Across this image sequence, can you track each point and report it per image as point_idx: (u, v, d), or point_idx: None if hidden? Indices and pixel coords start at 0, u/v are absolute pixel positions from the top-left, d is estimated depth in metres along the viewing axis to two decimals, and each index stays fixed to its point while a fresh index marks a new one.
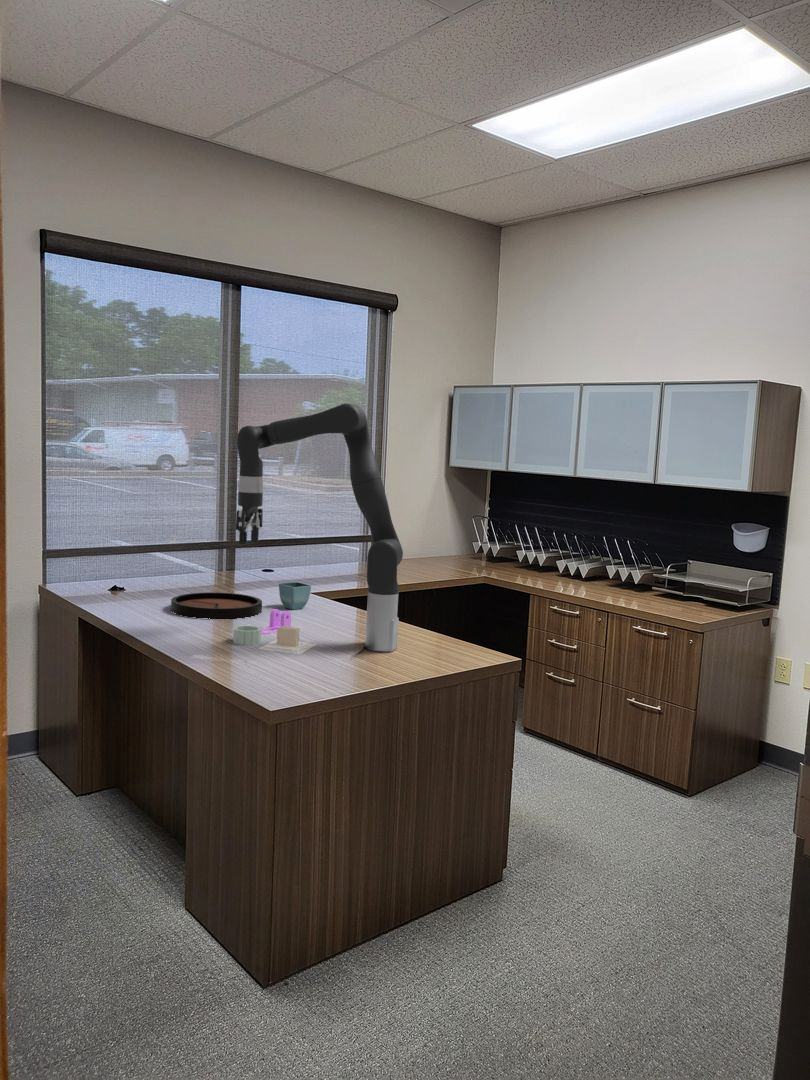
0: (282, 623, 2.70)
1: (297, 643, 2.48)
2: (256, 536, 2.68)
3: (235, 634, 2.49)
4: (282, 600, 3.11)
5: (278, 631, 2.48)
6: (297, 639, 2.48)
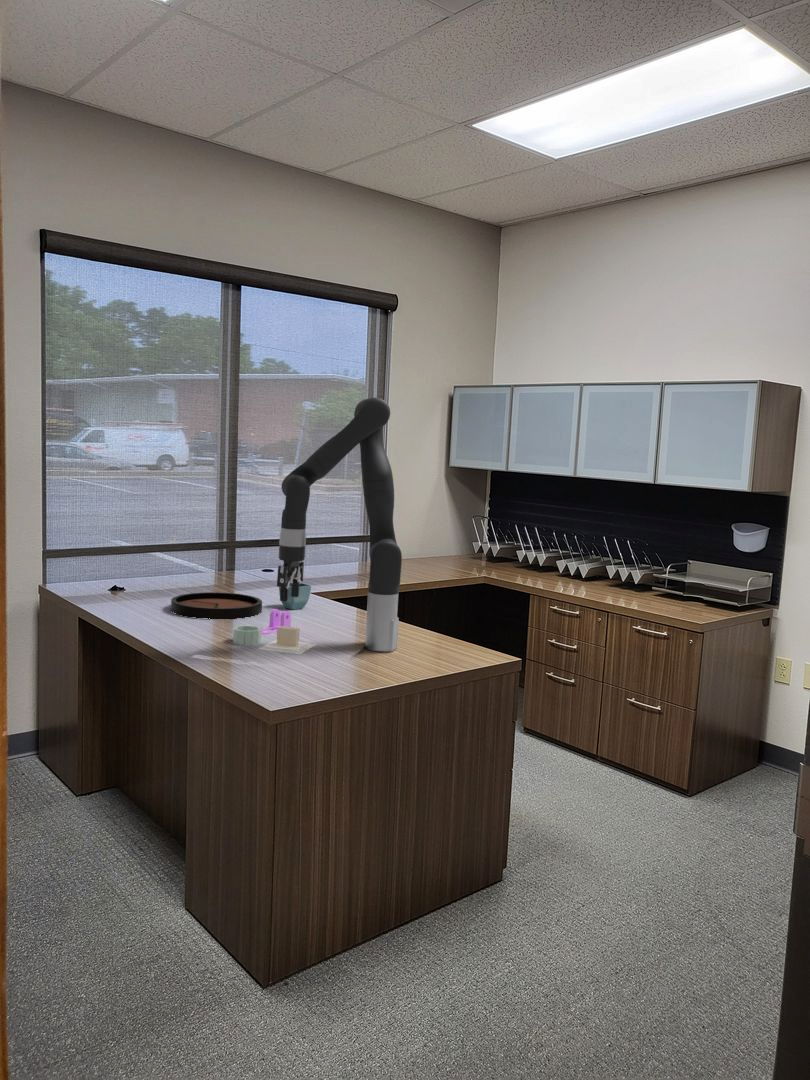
0: (282, 623, 2.71)
1: (297, 643, 2.48)
2: (297, 591, 2.51)
3: (235, 634, 2.49)
4: None
5: (278, 631, 2.48)
6: (297, 639, 2.48)
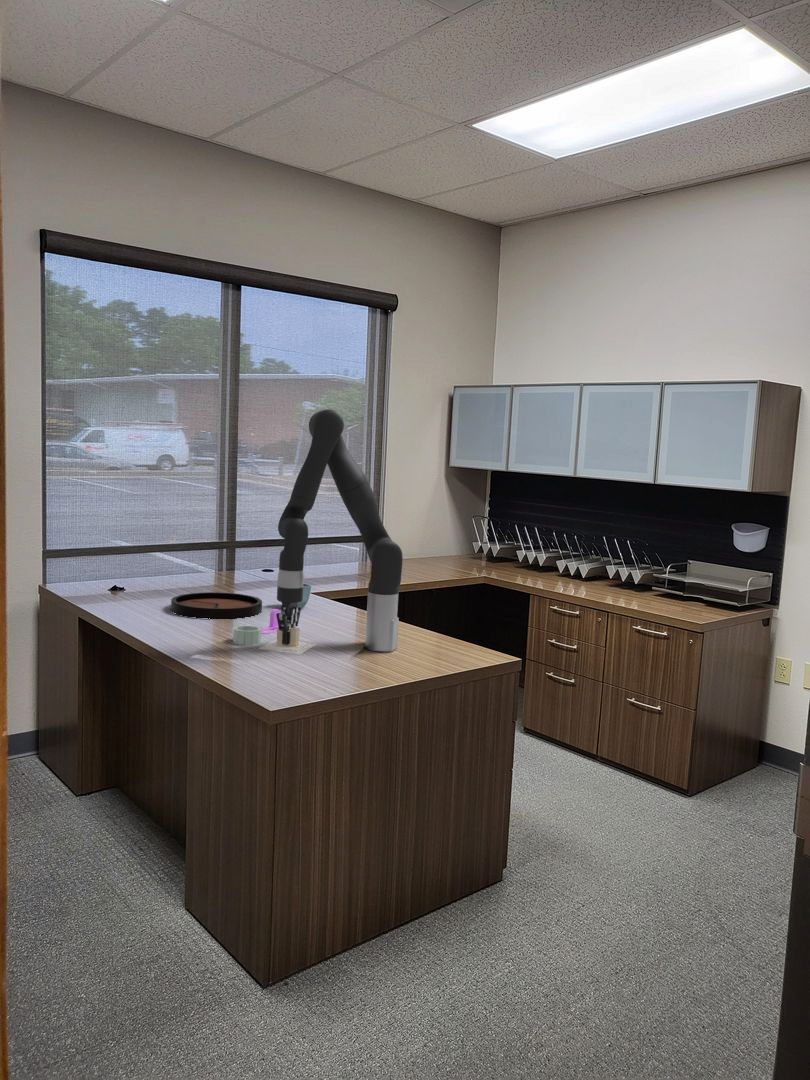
0: None
1: (297, 643, 2.48)
2: None
3: (235, 634, 2.49)
4: None
5: (278, 631, 2.48)
6: (297, 639, 2.48)
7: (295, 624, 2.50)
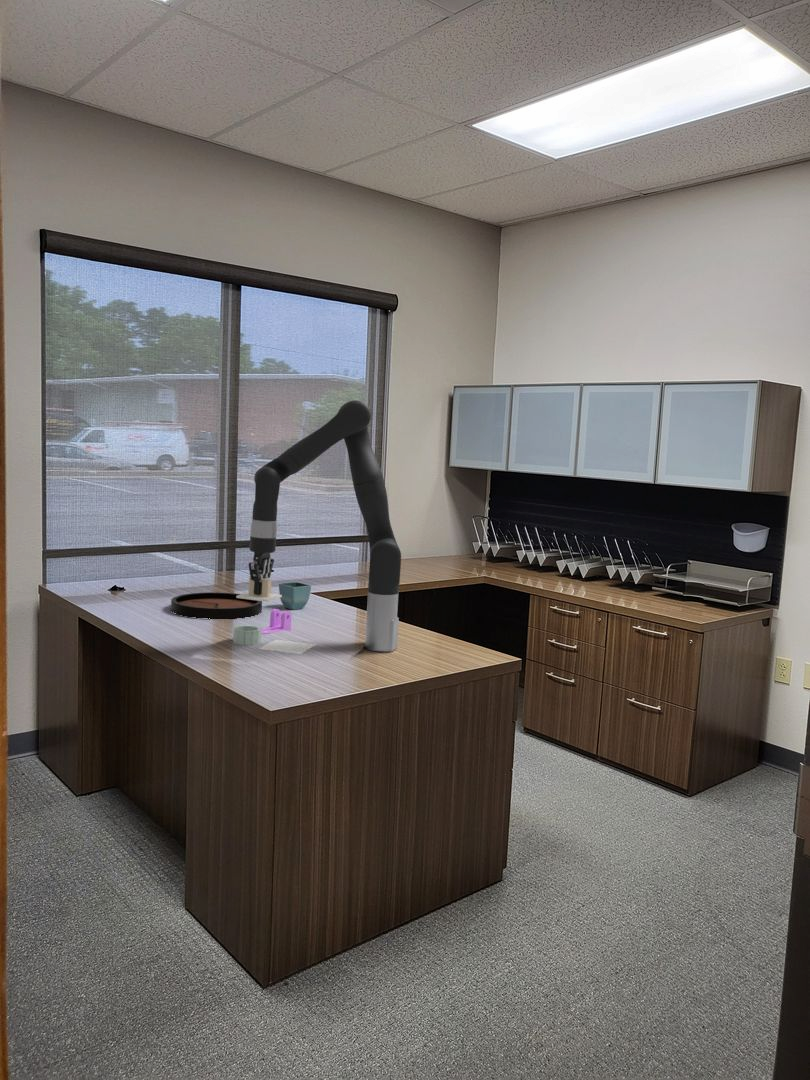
0: (282, 623, 2.71)
1: (269, 594, 2.48)
2: None
3: (235, 634, 2.49)
4: (282, 600, 3.11)
5: (250, 581, 2.48)
6: (269, 590, 2.48)
7: (267, 575, 2.51)
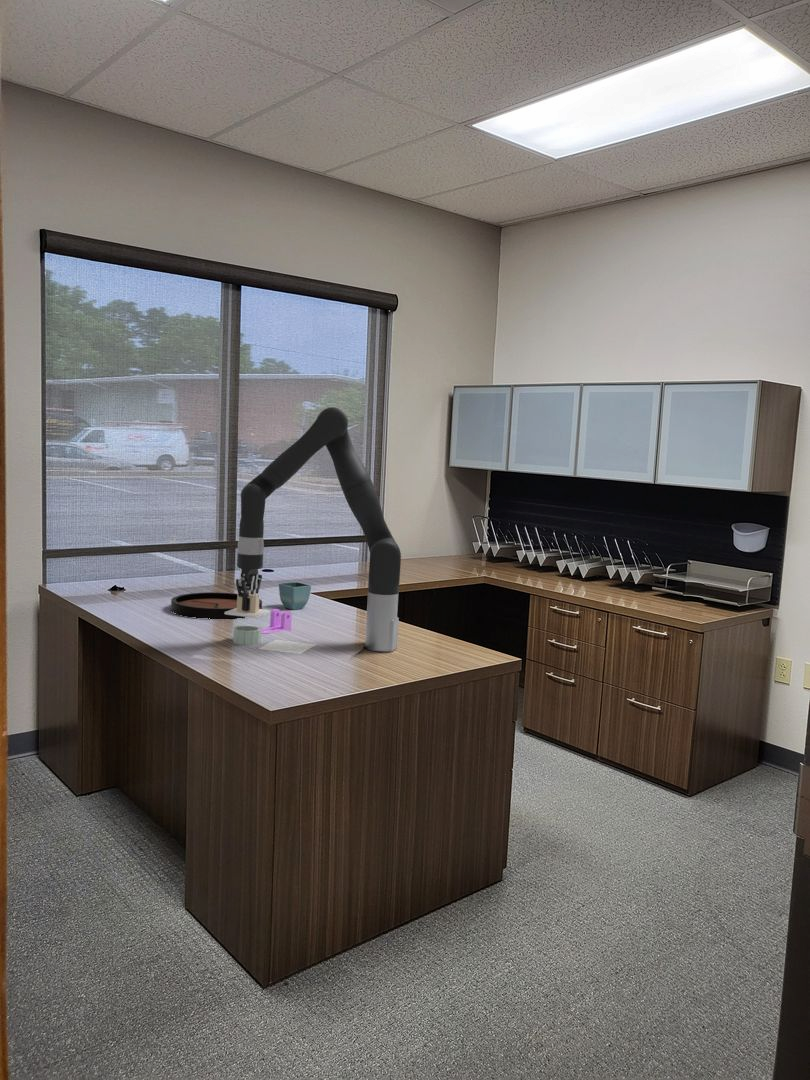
0: (283, 623, 2.71)
1: (257, 610, 2.50)
2: None
3: (235, 634, 2.49)
4: (282, 600, 3.11)
5: (238, 597, 2.50)
6: (257, 606, 2.50)
7: (255, 591, 2.52)
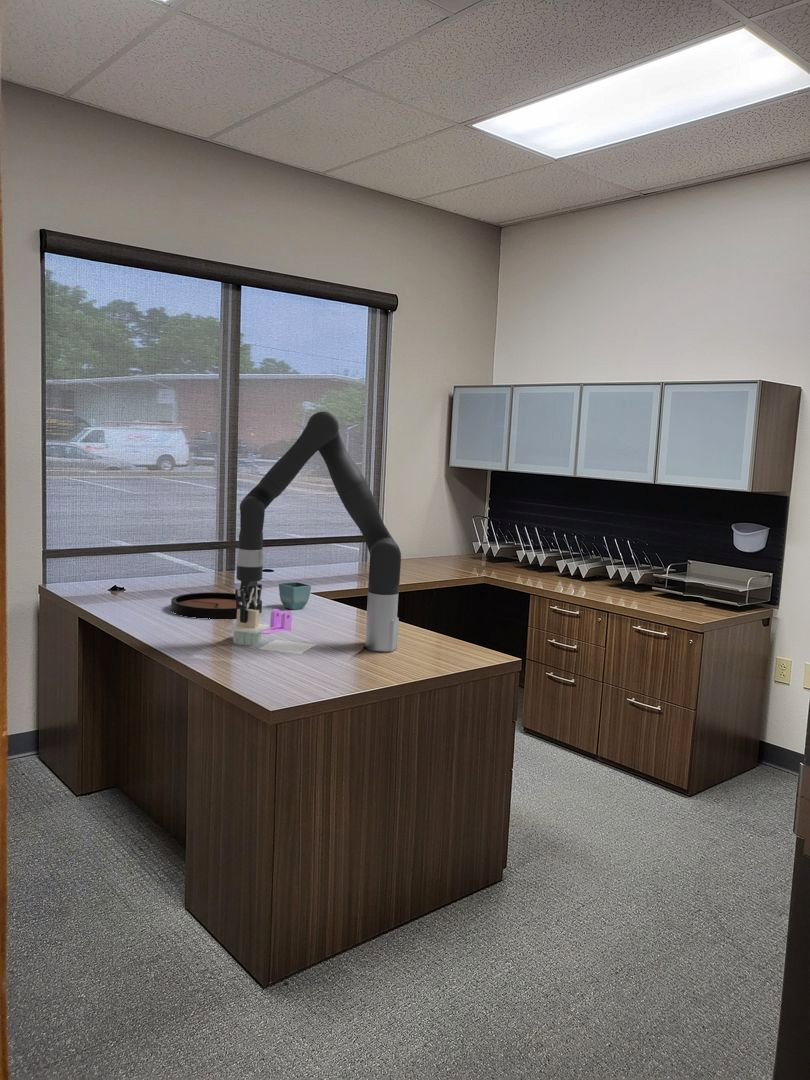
0: (283, 623, 2.71)
1: (257, 625, 2.51)
2: None
3: (235, 634, 2.49)
4: (282, 600, 3.11)
5: (237, 613, 2.51)
6: (256, 621, 2.50)
7: (256, 601, 2.54)
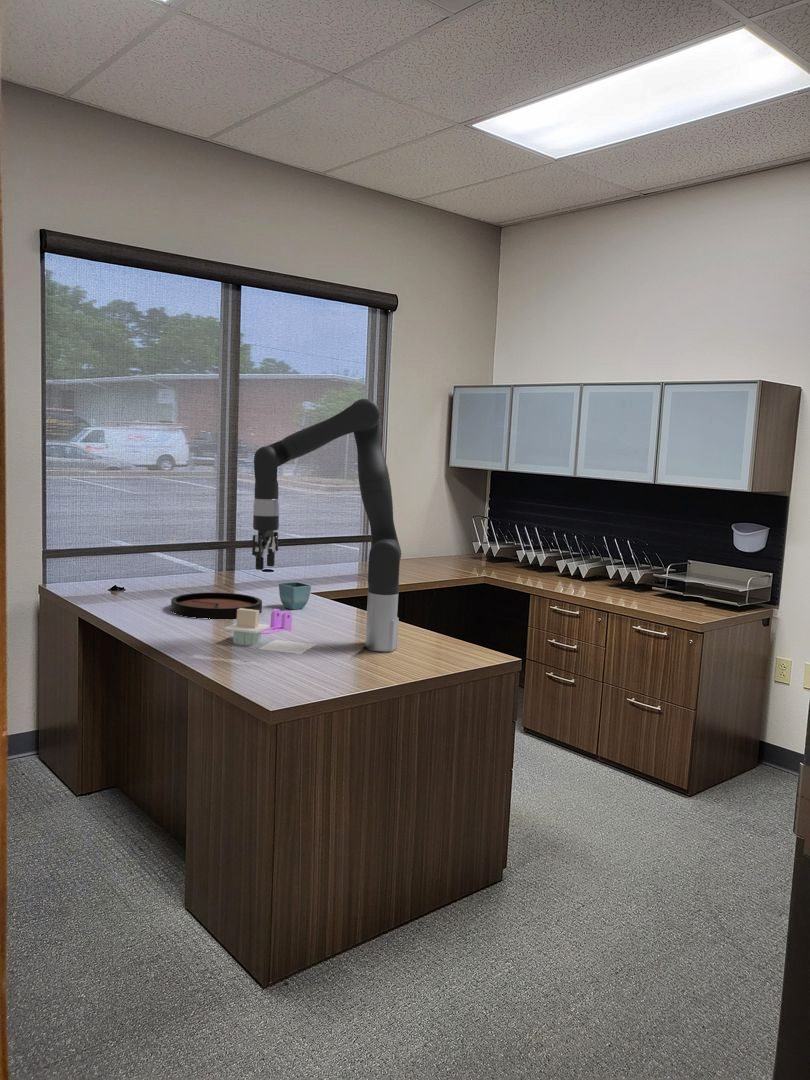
0: (283, 623, 2.71)
1: (257, 625, 2.51)
2: (272, 560, 2.57)
3: (235, 634, 2.49)
4: (282, 600, 3.11)
5: (237, 613, 2.51)
6: (256, 621, 2.50)
7: (275, 548, 2.57)
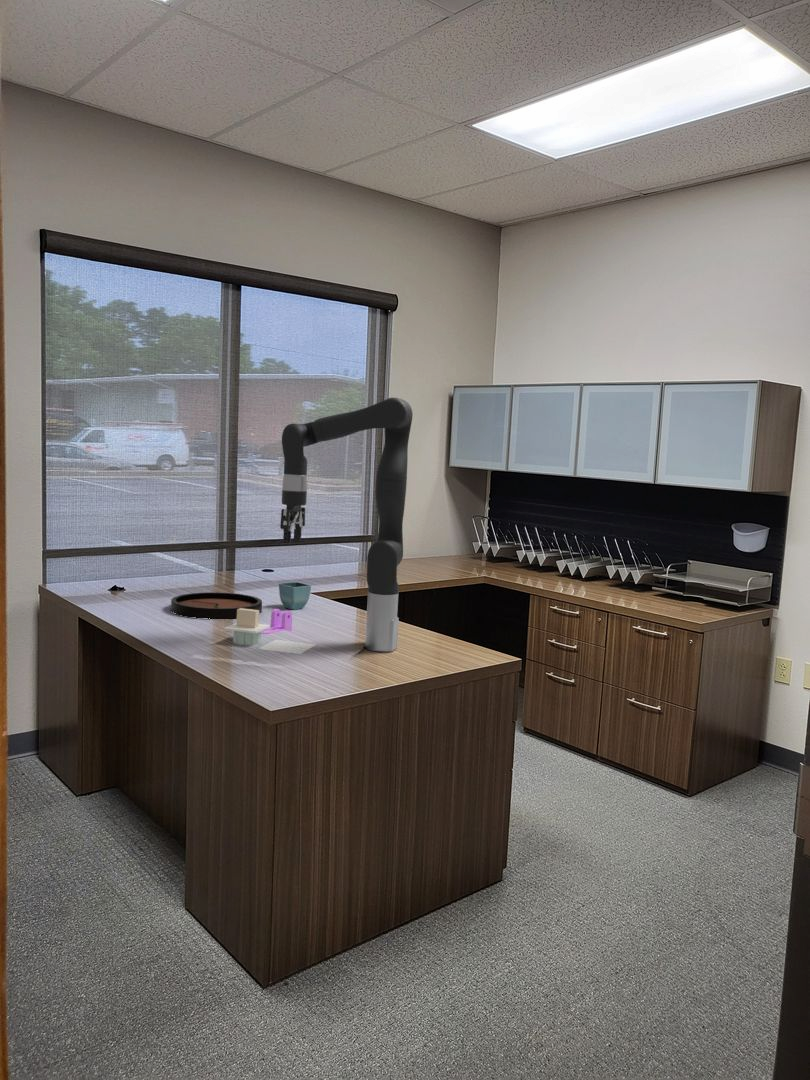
0: (283, 623, 2.71)
1: (257, 625, 2.51)
2: (299, 535, 2.65)
3: (235, 634, 2.49)
4: (282, 600, 3.11)
5: (237, 613, 2.51)
6: (256, 621, 2.50)
7: (302, 523, 2.65)
